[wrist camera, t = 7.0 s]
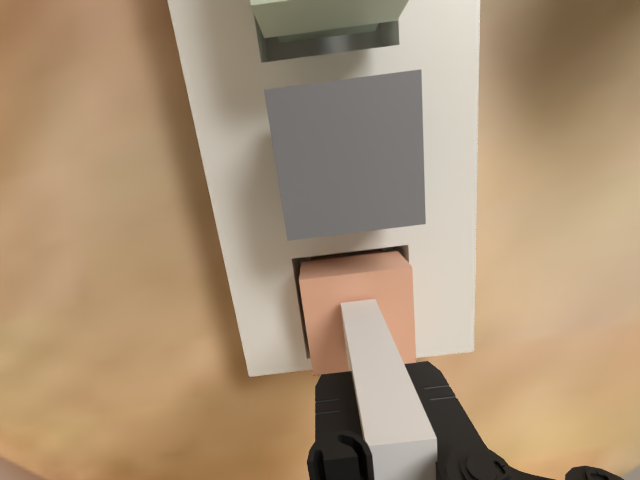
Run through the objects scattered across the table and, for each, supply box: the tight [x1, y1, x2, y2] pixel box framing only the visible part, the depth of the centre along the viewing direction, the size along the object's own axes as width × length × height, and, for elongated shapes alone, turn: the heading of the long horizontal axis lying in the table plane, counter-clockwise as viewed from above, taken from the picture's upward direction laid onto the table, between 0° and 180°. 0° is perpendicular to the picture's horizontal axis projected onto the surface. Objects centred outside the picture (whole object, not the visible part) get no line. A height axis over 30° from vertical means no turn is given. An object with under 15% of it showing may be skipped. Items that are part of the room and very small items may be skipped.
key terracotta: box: [299, 249, 416, 376], centre depth 15 cm, size 5×5×4 cm
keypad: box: [167, 0, 480, 377], centre depth 14 cm, size 28×12×4 cm, turn 7°
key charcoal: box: [264, 69, 426, 241], centre depth 12 cm, size 5×5×4 cm
